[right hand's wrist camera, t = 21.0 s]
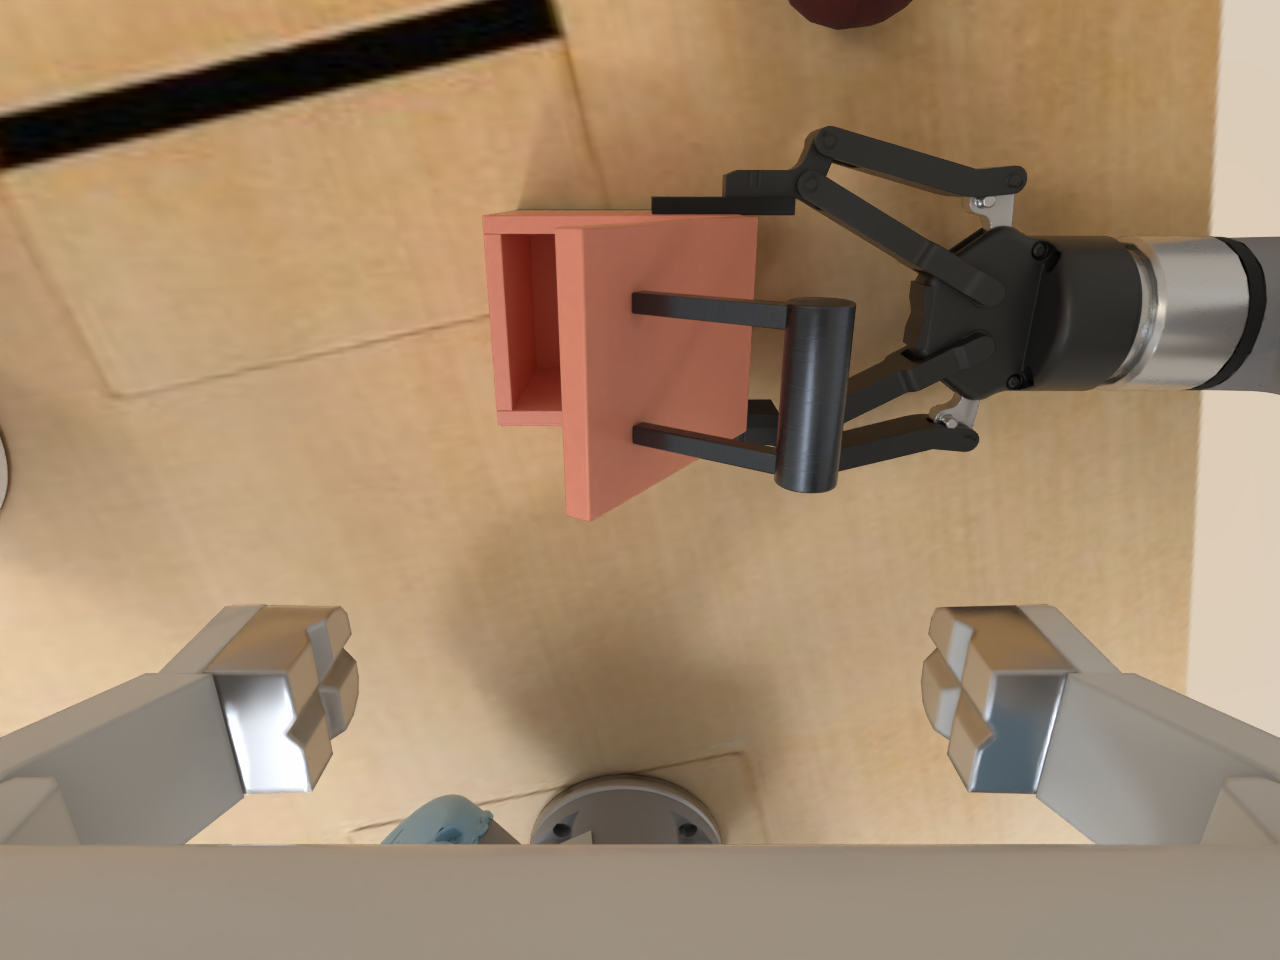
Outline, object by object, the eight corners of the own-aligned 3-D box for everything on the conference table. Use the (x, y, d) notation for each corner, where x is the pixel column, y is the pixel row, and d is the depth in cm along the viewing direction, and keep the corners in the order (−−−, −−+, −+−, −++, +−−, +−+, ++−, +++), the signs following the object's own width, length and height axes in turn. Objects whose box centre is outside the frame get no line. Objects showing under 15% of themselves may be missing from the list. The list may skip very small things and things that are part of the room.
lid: (565, 516, 25) (793, 583, 21) (553, 226, 22) (824, 236, 18) (726, 427, 35) (906, 461, 31) (736, 215, 31) (941, 219, 27)
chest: (526, 377, 44) (497, 426, 35) (516, 209, 41) (481, 215, 32) (715, 377, 44) (735, 426, 35) (721, 209, 41) (745, 215, 32)
